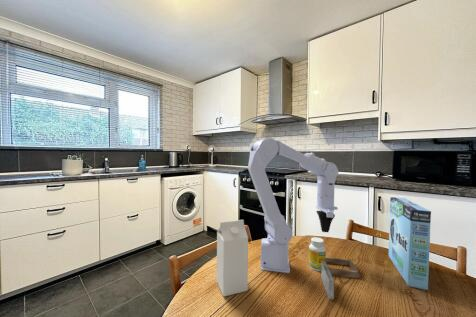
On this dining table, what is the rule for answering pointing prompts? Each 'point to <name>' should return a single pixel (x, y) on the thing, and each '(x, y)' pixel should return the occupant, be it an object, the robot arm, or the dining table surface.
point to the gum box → (410, 241)
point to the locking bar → (327, 280)
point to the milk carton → (232, 257)
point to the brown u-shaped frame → (341, 272)
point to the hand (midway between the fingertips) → (325, 231)
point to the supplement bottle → (316, 253)
